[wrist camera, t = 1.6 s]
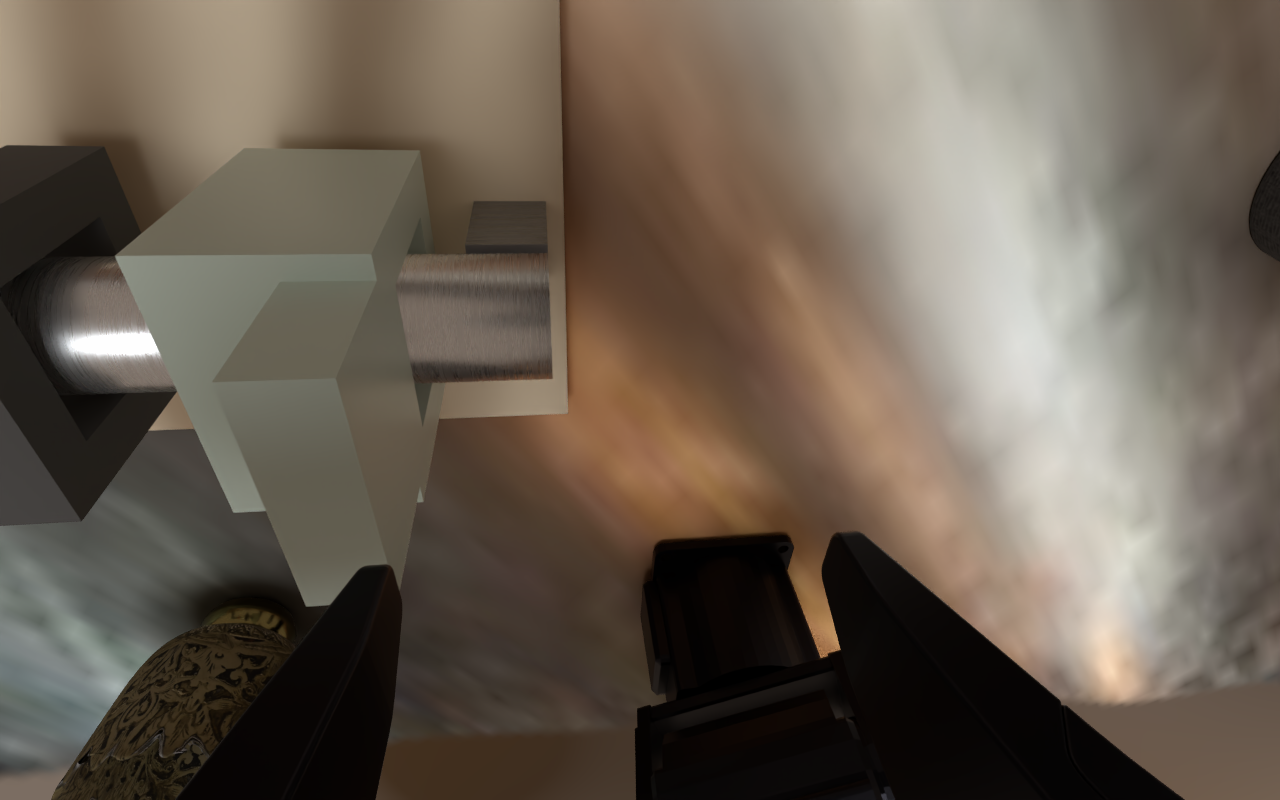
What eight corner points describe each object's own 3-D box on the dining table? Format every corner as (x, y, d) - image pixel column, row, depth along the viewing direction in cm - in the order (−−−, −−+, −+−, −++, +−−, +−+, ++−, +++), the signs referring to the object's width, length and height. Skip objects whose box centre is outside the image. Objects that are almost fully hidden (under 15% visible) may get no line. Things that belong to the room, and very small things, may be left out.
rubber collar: (104, 146, 15) (-96, 257, 10) (197, 364, 19) (81, 521, 14) (6, 144, 15) (-245, 258, 10) (120, 366, 18) (-26, 527, 14)
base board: (557, -23, 16) (559, -19, 15) (566, 396, 24) (568, 416, 23) (-587, -77, 13) (-667, -76, 12) (-153, 423, 21) (-183, 446, 20)
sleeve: (419, 150, 16) (327, 347, 9) (450, 357, 19) (402, 616, 12) (244, 148, 15) (-7, 356, 8) (308, 360, 19) (173, 634, 12)
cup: (120, 580, 27) (-8, 789, 20) (299, 545, 27) (226, 743, 20) (217, 675, 31) (137, 870, 25) (370, 645, 31) (328, 832, 25)
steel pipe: (545, 185, 18) (549, 286, 13) (549, 291, 20) (553, 412, 15) (-397, 179, 15) (-828, 306, 10) (-285, 304, 17) (-604, 458, 12)
